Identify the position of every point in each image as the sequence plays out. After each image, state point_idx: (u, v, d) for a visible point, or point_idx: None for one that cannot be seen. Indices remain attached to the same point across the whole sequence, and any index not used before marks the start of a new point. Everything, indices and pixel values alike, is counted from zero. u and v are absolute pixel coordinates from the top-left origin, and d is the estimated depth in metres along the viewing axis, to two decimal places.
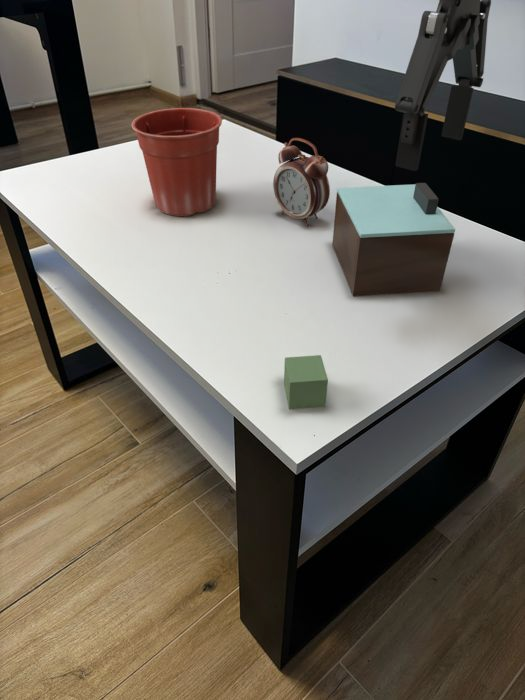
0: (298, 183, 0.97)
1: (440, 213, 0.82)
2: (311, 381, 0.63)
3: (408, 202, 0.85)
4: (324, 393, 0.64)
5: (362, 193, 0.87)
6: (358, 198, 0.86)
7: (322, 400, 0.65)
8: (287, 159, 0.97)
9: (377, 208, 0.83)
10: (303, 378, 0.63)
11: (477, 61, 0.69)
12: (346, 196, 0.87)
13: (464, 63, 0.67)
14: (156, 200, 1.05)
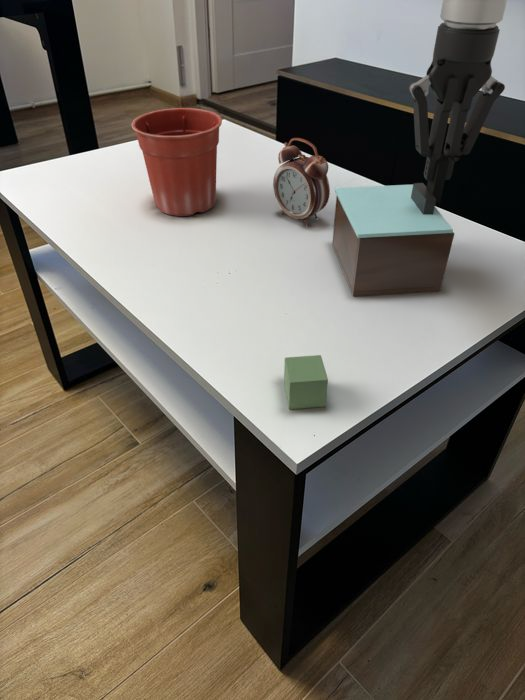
0: (298, 183, 0.97)
1: (438, 213, 0.82)
2: (311, 381, 0.63)
3: (406, 202, 0.85)
4: (324, 393, 0.64)
5: (360, 193, 0.87)
6: (356, 198, 0.86)
7: (322, 400, 0.65)
8: (287, 159, 0.97)
9: (374, 208, 0.83)
10: (303, 378, 0.63)
11: (468, 134, 0.77)
12: (344, 196, 0.87)
13: (453, 126, 0.76)
14: (156, 200, 1.05)
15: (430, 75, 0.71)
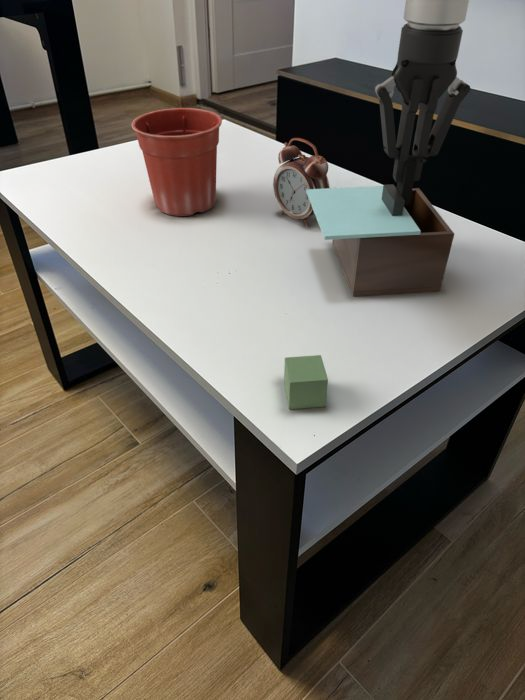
0: (298, 183, 0.97)
1: (407, 215, 0.81)
2: (311, 381, 0.63)
3: (376, 203, 0.84)
4: (324, 393, 0.64)
5: (331, 194, 0.87)
6: (326, 199, 0.86)
7: (322, 400, 0.65)
8: (287, 159, 0.97)
9: (344, 210, 0.83)
10: (303, 378, 0.63)
11: (435, 135, 0.76)
12: (314, 197, 0.86)
13: (420, 128, 0.76)
14: (156, 200, 1.05)
15: (395, 76, 0.71)
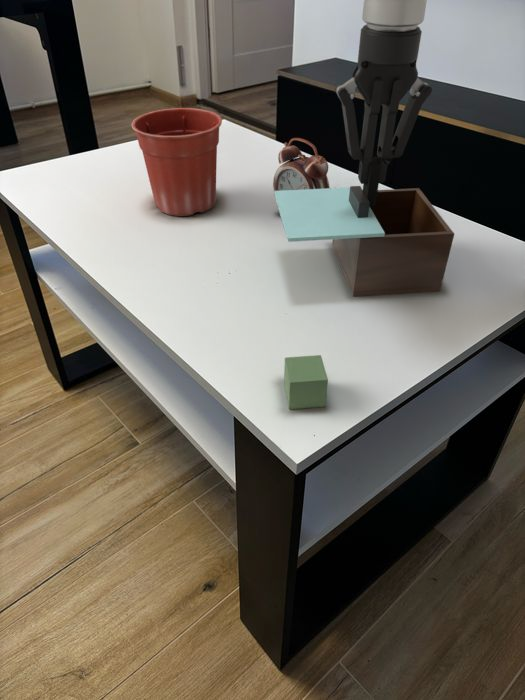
0: (298, 183, 0.97)
1: (372, 216, 0.81)
2: (311, 381, 0.63)
3: (343, 205, 0.84)
4: (324, 393, 0.64)
5: (298, 196, 0.86)
6: (293, 201, 0.85)
7: (322, 400, 0.65)
8: (287, 159, 0.97)
9: (309, 212, 0.82)
10: (303, 378, 0.63)
11: (399, 137, 0.76)
12: (281, 199, 0.86)
13: (383, 129, 0.75)
14: (156, 200, 1.05)
15: (355, 77, 0.70)
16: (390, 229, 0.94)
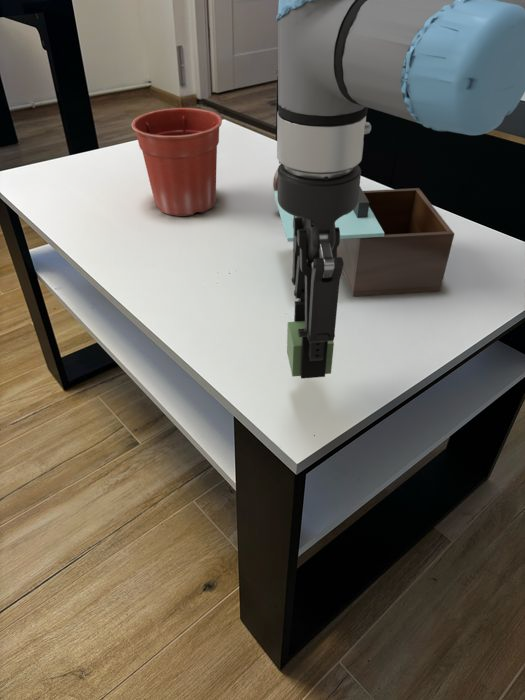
0: None
1: (372, 216, 0.81)
2: None
3: None
4: (330, 358, 0.60)
5: None
6: None
7: (328, 366, 0.61)
8: None
9: None
10: None
11: None
12: None
13: None
14: (156, 200, 1.05)
15: None
16: (390, 229, 0.94)
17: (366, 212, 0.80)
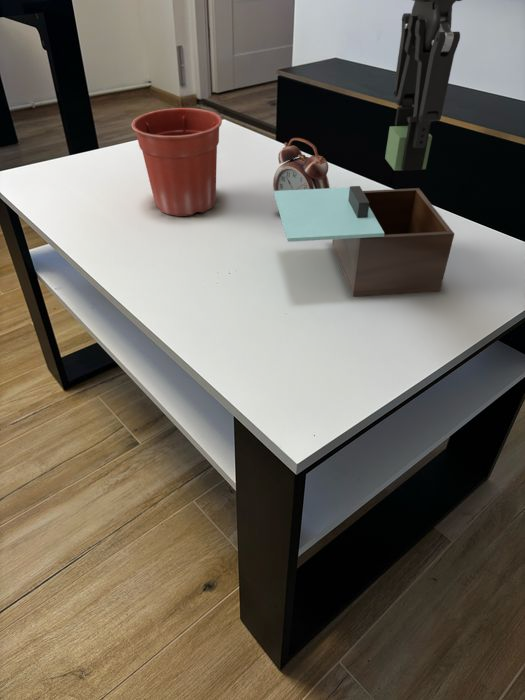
0: (298, 183, 0.97)
1: (372, 216, 0.81)
2: None
3: (343, 205, 0.84)
4: (427, 152, 0.73)
5: (298, 196, 0.86)
6: (292, 201, 0.85)
7: (424, 161, 0.74)
8: (287, 159, 0.97)
9: (309, 212, 0.82)
10: None
11: None
12: (281, 199, 0.86)
13: None
14: (156, 200, 1.05)
15: None
16: (390, 229, 0.94)
17: (366, 212, 0.80)
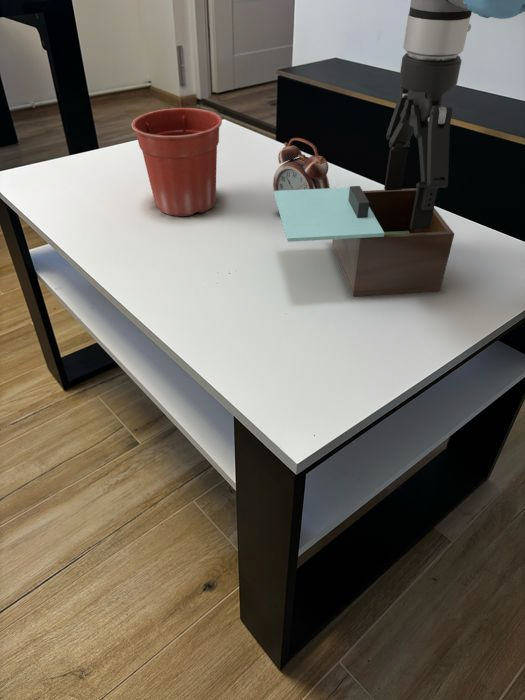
0: (298, 183, 0.97)
1: (372, 216, 0.81)
2: None
3: (343, 205, 0.84)
4: None
5: (298, 196, 0.86)
6: (292, 201, 0.85)
7: None
8: (287, 159, 0.97)
9: (309, 212, 0.82)
10: None
11: None
12: (281, 199, 0.86)
13: None
14: (156, 200, 1.05)
15: None
16: (390, 229, 0.94)
17: (366, 212, 0.80)
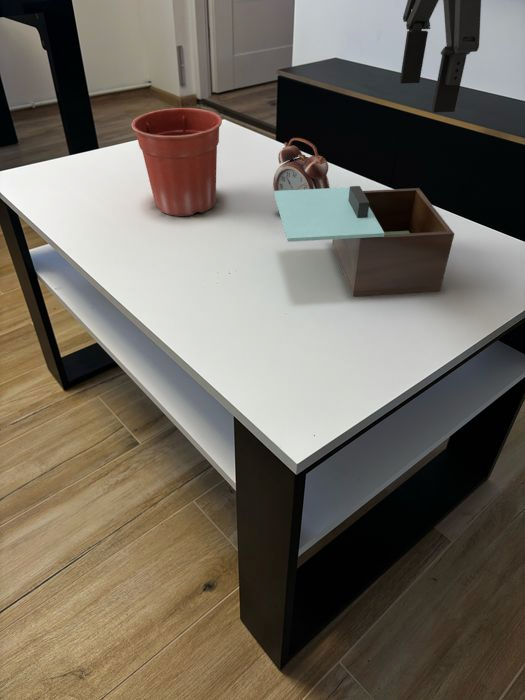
0: (298, 183, 0.97)
1: (372, 216, 0.81)
2: None
3: (343, 205, 0.84)
4: None
5: (298, 196, 0.86)
6: (292, 201, 0.85)
7: None
8: (287, 159, 0.97)
9: (309, 212, 0.82)
10: None
11: None
12: (281, 199, 0.86)
13: None
14: (156, 200, 1.05)
15: None
16: (390, 229, 0.94)
17: (366, 212, 0.80)
